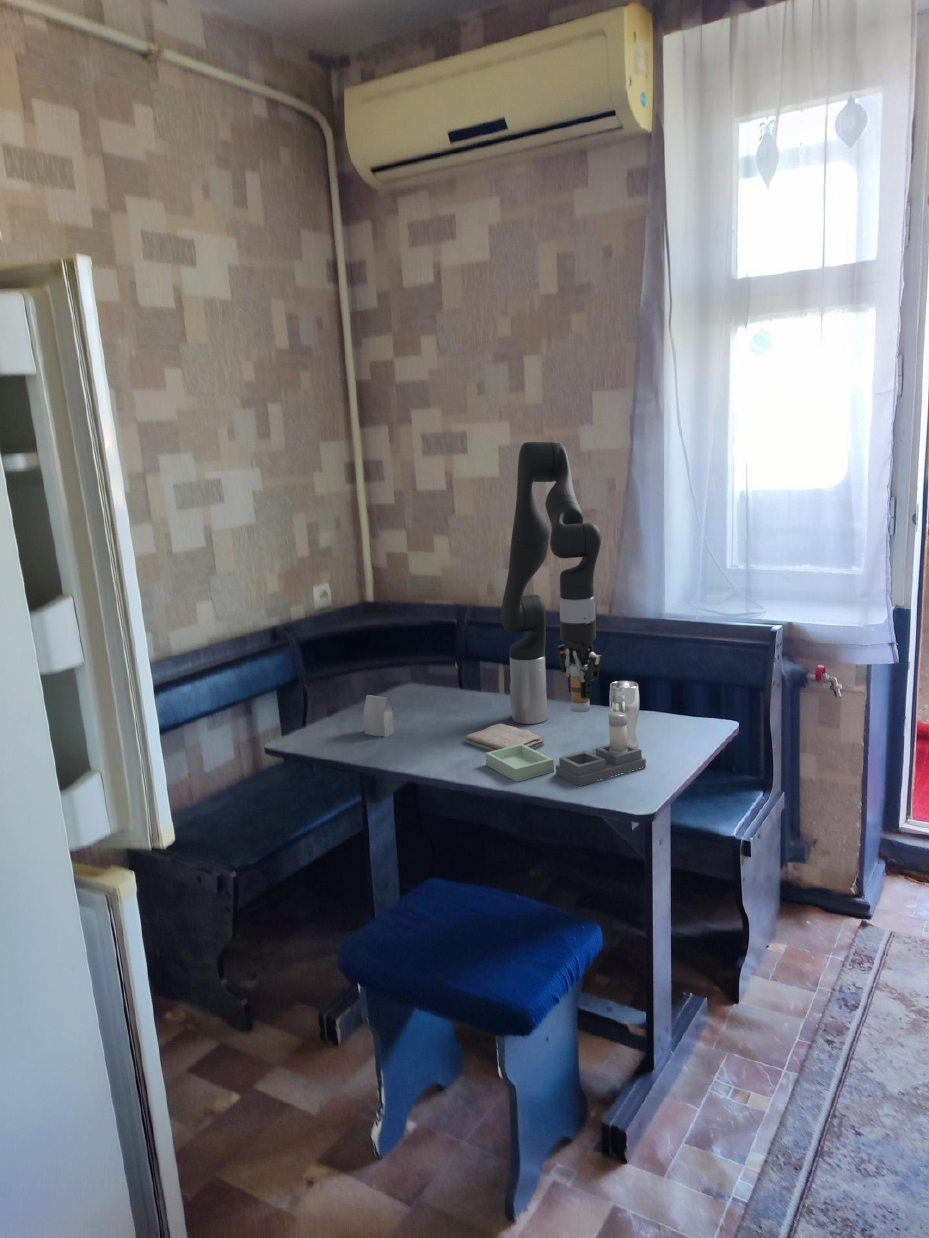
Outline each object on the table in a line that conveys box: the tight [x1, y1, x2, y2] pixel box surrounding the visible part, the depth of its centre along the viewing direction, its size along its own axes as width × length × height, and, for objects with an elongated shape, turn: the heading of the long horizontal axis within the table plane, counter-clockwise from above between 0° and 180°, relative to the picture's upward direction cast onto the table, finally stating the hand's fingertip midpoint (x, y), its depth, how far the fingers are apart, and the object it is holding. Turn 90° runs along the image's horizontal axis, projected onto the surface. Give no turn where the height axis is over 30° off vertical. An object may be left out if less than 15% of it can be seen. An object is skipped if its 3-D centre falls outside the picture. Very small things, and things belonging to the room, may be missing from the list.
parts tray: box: [485, 744, 555, 782], centre depth 206 cm, size 13×10×3 cm
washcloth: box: [464, 723, 545, 752], centre depth 223 cm, size 12×18×3 cm, turn 42°
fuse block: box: [555, 743, 647, 786], centre depth 201 cm, size 9×18×4 cm, turn 119°
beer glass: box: [609, 680, 640, 748], centre depth 216 cm, size 7×7×15 cm
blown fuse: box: [570, 664, 591, 714], centre depth 195 cm, size 4×4×10 cm
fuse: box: [608, 712, 628, 755], centre depth 202 cm, size 4×4×10 cm
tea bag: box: [362, 694, 395, 738], centre depth 235 cm, size 4×7×10 cm, turn 56°
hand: (579, 695), depth 196 cm, fingers closed on blown fuse, 4 cm apart
